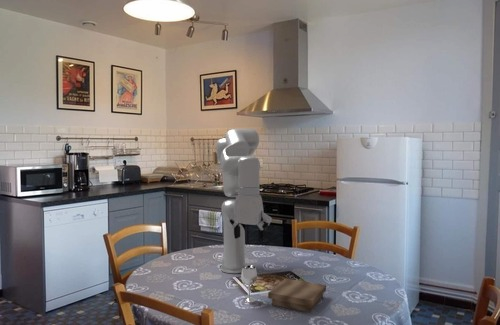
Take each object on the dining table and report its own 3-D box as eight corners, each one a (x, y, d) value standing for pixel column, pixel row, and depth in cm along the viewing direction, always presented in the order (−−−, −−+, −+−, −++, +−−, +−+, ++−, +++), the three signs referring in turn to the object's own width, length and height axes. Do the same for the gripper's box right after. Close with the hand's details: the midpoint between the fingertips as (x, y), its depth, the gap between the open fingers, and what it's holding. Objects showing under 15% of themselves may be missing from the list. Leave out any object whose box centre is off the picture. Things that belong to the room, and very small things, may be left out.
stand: (268, 305, 136) (268, 292, 136) (285, 289, 150) (285, 278, 150) (312, 314, 129) (312, 300, 129) (326, 297, 143) (326, 285, 143)
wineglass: (240, 297, 143) (240, 265, 143) (256, 296, 144) (256, 264, 143) (241, 303, 138) (241, 270, 137) (258, 303, 138) (257, 269, 138)
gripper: (222, 191, 140) (223, 239, 140) (266, 194, 132) (266, 244, 132) (233, 189, 146) (233, 234, 147) (275, 191, 138) (275, 239, 139)
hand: (249, 239), depth 140 cm, fingers open, 9 cm apart
